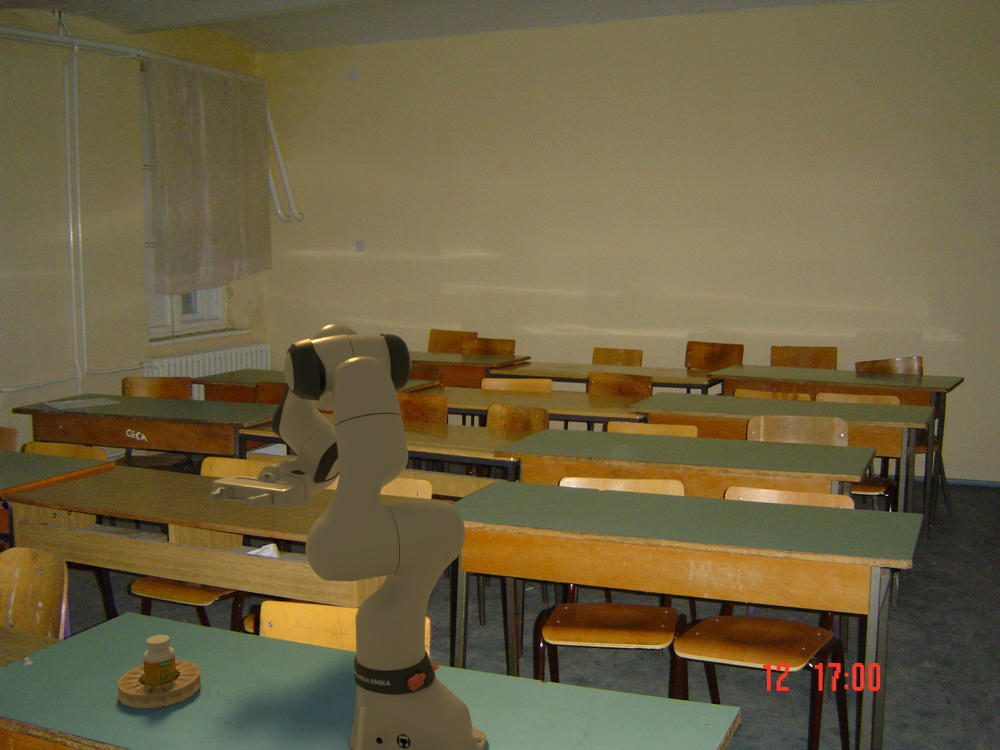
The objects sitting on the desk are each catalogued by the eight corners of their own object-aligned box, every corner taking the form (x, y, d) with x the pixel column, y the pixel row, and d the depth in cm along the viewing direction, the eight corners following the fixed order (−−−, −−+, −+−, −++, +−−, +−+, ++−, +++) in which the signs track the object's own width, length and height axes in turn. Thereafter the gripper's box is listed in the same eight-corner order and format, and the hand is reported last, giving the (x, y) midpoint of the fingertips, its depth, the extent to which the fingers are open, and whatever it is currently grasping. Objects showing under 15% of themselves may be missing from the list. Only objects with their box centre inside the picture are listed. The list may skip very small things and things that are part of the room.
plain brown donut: (216, 681, 173) (216, 669, 172) (157, 715, 160) (156, 701, 160) (163, 666, 179) (162, 654, 179) (101, 697, 167) (100, 684, 166)
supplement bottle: (162, 698, 166) (158, 647, 165) (138, 693, 168) (135, 642, 167) (183, 685, 171) (180, 635, 170) (160, 680, 173) (157, 631, 172)
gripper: (239, 465, 197) (190, 479, 185) (316, 474, 187) (269, 490, 175) (241, 494, 198) (192, 510, 186) (317, 504, 188) (270, 522, 176)
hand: (230, 500), depth 180 cm, fingers open, 8 cm apart
